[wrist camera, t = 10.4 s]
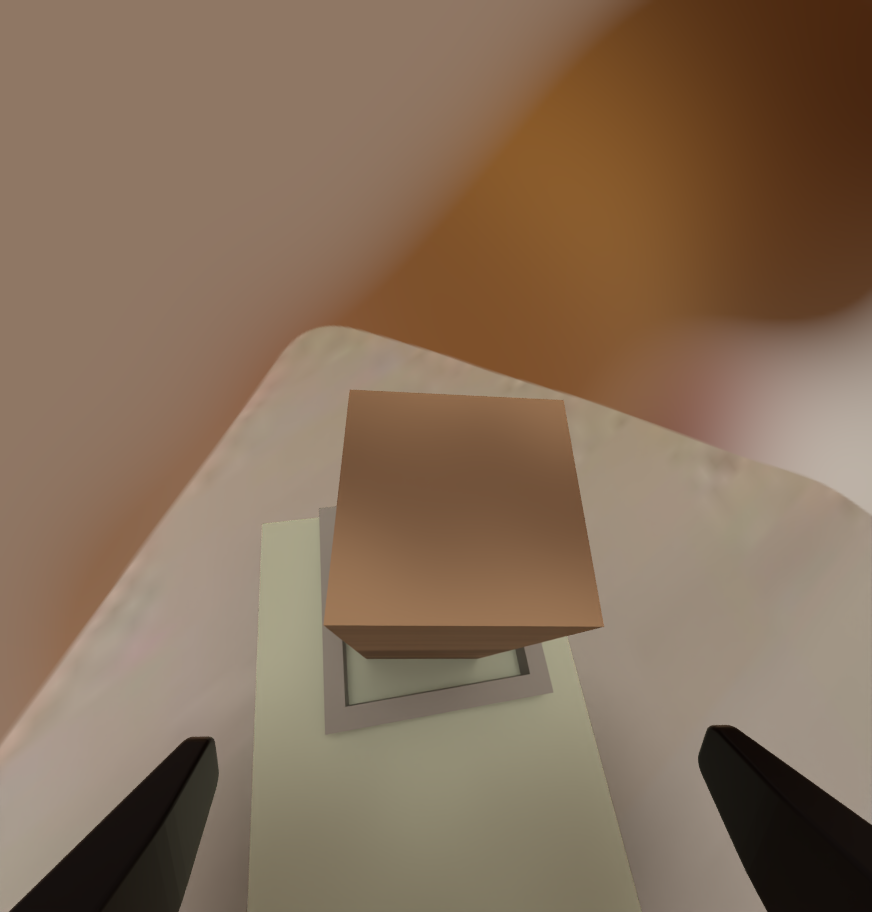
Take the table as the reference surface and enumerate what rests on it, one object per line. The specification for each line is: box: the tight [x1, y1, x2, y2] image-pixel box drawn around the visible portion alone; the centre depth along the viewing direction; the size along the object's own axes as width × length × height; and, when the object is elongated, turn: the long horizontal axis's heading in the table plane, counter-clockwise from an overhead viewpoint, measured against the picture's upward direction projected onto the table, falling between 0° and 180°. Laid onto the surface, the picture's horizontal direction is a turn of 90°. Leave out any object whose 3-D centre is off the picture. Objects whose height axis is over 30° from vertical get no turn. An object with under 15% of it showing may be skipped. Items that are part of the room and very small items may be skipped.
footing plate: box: [247, 506, 642, 912], centre depth 18 cm, size 17×14×3 cm
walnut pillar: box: [323, 390, 604, 659], centre depth 14 cm, size 5×5×13 cm
